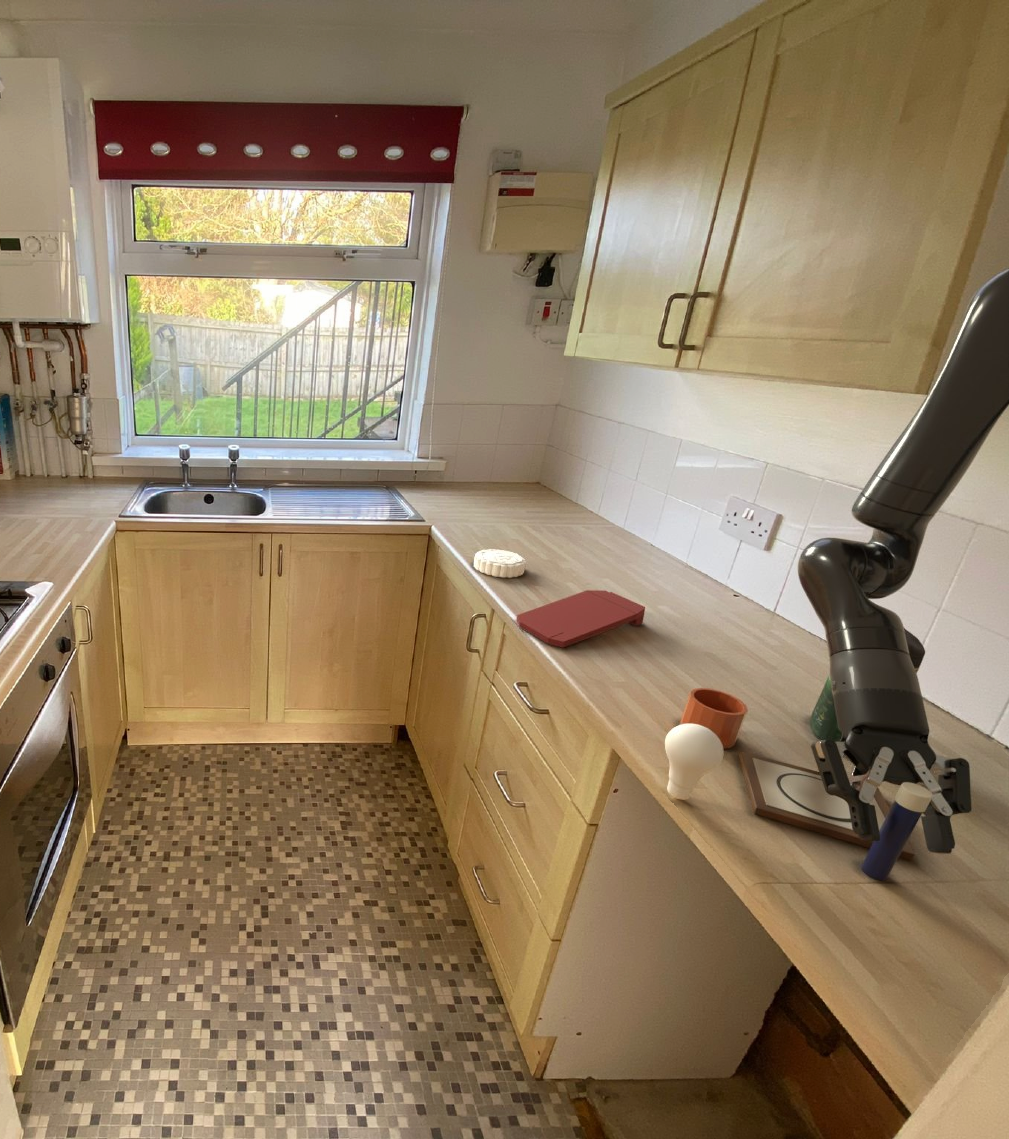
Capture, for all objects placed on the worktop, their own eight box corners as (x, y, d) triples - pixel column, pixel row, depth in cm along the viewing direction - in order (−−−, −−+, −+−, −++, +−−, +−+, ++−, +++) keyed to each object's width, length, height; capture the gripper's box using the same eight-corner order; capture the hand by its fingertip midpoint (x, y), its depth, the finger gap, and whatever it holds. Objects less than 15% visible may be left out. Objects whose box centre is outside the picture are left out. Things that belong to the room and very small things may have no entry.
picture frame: (875, 793, 84) (879, 785, 83) (911, 861, 73) (916, 852, 73) (738, 756, 90) (741, 749, 90) (753, 813, 80) (757, 806, 79)
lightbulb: (678, 779, 86) (701, 711, 82) (716, 811, 80) (742, 741, 76) (639, 783, 85) (660, 716, 80) (674, 816, 79) (699, 745, 75)
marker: (884, 869, 72) (928, 786, 67) (891, 884, 70) (937, 800, 65) (856, 861, 73) (898, 779, 68) (863, 875, 71) (906, 792, 66)
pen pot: (731, 729, 96) (743, 696, 94) (738, 754, 91) (751, 720, 88) (677, 715, 100) (688, 683, 97) (681, 739, 94) (692, 705, 92)
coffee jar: (882, 764, 89) (938, 650, 82) (810, 743, 93) (857, 633, 86) (872, 731, 96) (922, 624, 89) (805, 713, 101) (848, 609, 94)
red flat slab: (556, 665, 120) (651, 627, 128) (558, 643, 118) (655, 606, 125) (510, 637, 131) (601, 603, 138) (511, 616, 129) (603, 584, 136)
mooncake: (529, 579, 151) (531, 566, 150) (477, 576, 153) (479, 562, 151) (517, 562, 162) (520, 549, 161) (469, 558, 164) (472, 546, 162)
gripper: (825, 677, 72) (851, 833, 66) (978, 696, 69) (1020, 861, 63) (785, 692, 79) (805, 834, 73) (923, 709, 76) (956, 859, 69)
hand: (904, 846), depth 68 cm, fingers open, 5 cm apart
